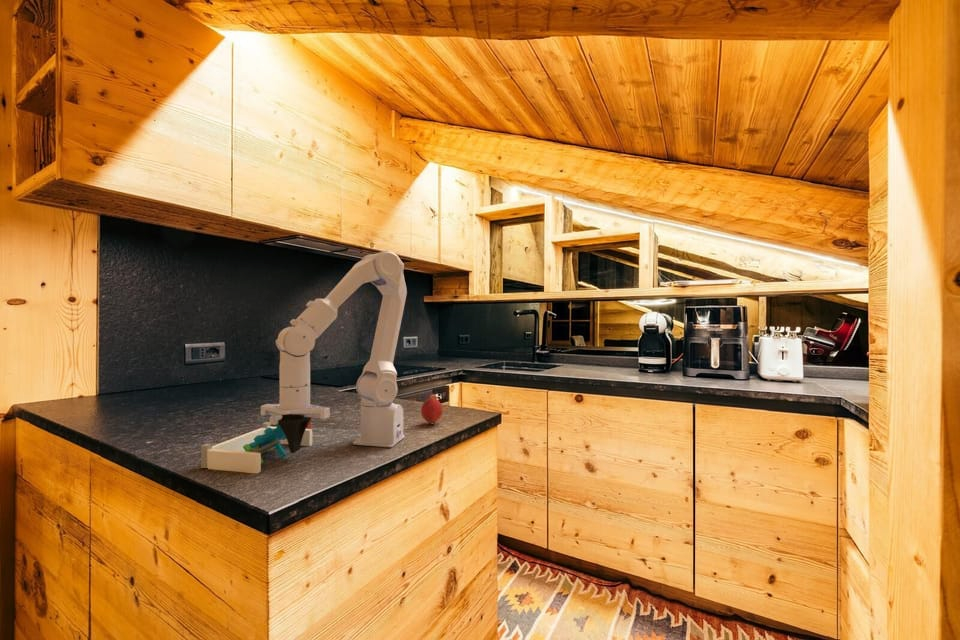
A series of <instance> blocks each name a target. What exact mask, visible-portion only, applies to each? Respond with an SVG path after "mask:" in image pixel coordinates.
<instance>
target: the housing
mask: <svg viewBox="0 0 960 640" xmlns="http://www.w3.org/2000/svg"><path fill="white" fill-rule="evenodd" d="M269 427H270V428H271V429H275V428H277V427H271V422H269V421H265V422H263V423H262V424H261V427H260V428H258V429H255V430H252V431H250V432H247V433H244V434H241V435H239V436H236V437H232V438H231V439H227V440H225V441H222V442H220V443H218V444H217V443H216V444H215V445H213V444H212V443H204V444H202V445H200V446H201V447H200V449H201V451H200V457H201V458H200V461H201V462H200V468H201V469H202V468H208V469H207V470H217V471H224V472H225V471H227V472H234V473H235V472H236V473H237V472H238V473H248V474H255V475H257V474H259V473H260V472H262V469H261V468H262V464H261V459H262V455H261V454H262V453H255V452H246V451H245V450H244V448H243V446H244V445H246V444H250V443H253V442H255V441H254V438H255V437H256V436H258V435H264V434H265V432H264V431H265V430H266V429H267V428H269ZM279 441H280V443H279V444H280V445H288V441H287V438H286V439H284V440H279ZM312 445H313V429H312V428H311V429H306V430H305V432H304V435H303V438H302V441H301V445H300V446H304V447H311V446H312Z"/></svg>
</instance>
